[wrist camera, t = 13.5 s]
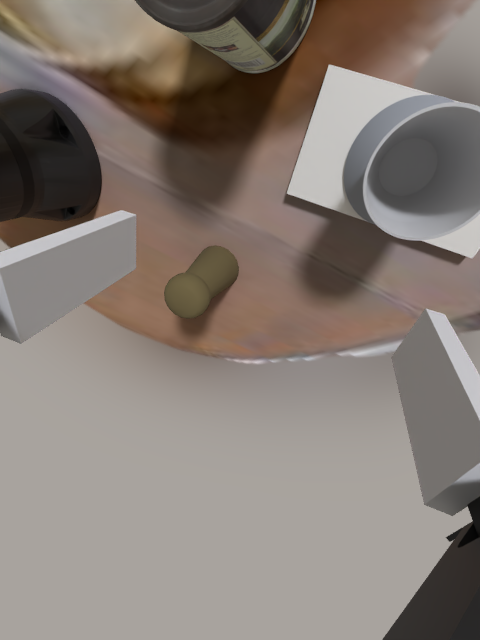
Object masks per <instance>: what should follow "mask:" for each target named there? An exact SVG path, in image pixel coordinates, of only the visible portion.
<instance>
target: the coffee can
mask: <svg viewBox="0 0 480 640" xmlns="http://www.w3.org/2000/svg"><path fill="white" fill-rule="evenodd" d="M135 1H136V2H137V3H138V5H139V6H140V7H141V8H142V9H143V10H144V11H145V12H146V13H147V14H148V15H150V16H151V17H152V18H153V19H155V20H156V21H158V22H159V23H161V24H163V25H165V26H167V27H169V28H172V29H174V30H177V31H179V32H180V33H182V34H184V35H185V36H187V37H188V38H190V39H191V40H193V41H195V42H196V43H198V44H199V45H201V46H202V47H204V48H205V49H207V50H209V51H210V52H212V53H214V54H215V55H217V56H218V57H220V58H222V59H223V60H225V61H226V62H227V63H229V64H230V65H231V66H232V67H234V68H236V69H237V70H239V71H243V72H246V73H262V72H266V71H269V70H271V69H273V68H275V67H277V66H279V65H280V64H281V63H283V62H284V61H285V60H286V59H287V58H288V57H289V56H290V55H291V54H292V53H293V52H294V51H295V49H296V48H297V47H298V45H299V44H300V42H301V40H302V39H303V37H304V35H305V33H306V31H307V29H308V26H309V24H310V21H311V19H312V16H313V12H314V8H315V3H316V0H135Z"/></svg>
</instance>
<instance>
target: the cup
mask: <svg viewBox="0 0 480 640" xmlns="http://www.w3.org/2000/svg"><path fill="white" fill-rule="evenodd" d="M363 197H364V203H365V206H366V209H367V212H368V214H369V215H370V217H371V219H372V220H373V221H374V223H375V224H376V225H377V226H378V227H379V228H380V229H382V230H383V231H385V232H386V233H388V234H390V235H392V236H394V237H397V238H400V239H405V240H414V241H420V240H429V239H435V238H439V237H442V236H445V235H447V234H450V233H452V232H454V231H456V230H458V229H460V228H462V227H463V226H465V225H467V224H468V223H469V222H471V221H472V220H473V219H475V218H476V217H477V216H478V215H479V214H480V107H479V106H476V105H473V104H468V103H461V102H449V103H442V104H437V105H433V106H430V107H427V108H424V109H422V110H420V111H418V112H416V113H414V114H412V115H410V116H408V117H407V118H405V119H404V120H403V121H401V122H400V123H399V124H397V125H396V126H395V127H394V128H393V129H392V130H391V131H390V132H389V133H388V134H387V135H386V136H385V137H384V138H383V139H382V141H381V142H380V143H379V144H378V146H377V147H376V149H375V150H374V152H373V154H372V156H371V158H370V160H369V163H368V165H367V168H366V172H365V176H364V182H363Z"/></svg>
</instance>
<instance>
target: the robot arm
mask: <svg viewBox="0 0 480 640" xmlns="http://www.w3.org/2000/svg"><path fill="white" fill-rule="evenodd" d="M100 188H101V172H100V165H99V160H98V156H97V153H96V150H95V147H94V145H93V142H92V140H91V138H90V136H89V134H88V132H87V130H86V129H85V127H84V125H83V124H82V123H81V121H80V120H79V118H78V117H77V116H76V115H75V114H74V112H73V111H72V110H71V109H70V108H69V107H68V106H67V105H65V104H64V103H63V102H62V101H60V100H59V99H57V98H56V97H54V96H52V95H50V94H47V93H44V92H40V91H34V90H27V89H15V90H10V91H7V92H4V93H1V94H0V222H2V221H6V220H10V219H15V218H19V217H29V218H38V219H47V220H55V221H67V220H71V219H75V218H79V217H82V216H84V215H86V214H88V213H89V212H90V211H91V210H92V209H93V207H94V206H95V204H96V202H97V200H98V197H99V194H100ZM135 269H136V215H135V214H132V213H129V212H126V211H123V210H120V211H117V212H114V213H112V214H109V215H106V216H103V217H100V218H97V219H94V220H91V221H88V222H85V223H82V224H80V225H77V226H74V227H71V228H68V229H65V230H62V231H59V232H56V233H53V234H51V235H48V236H45V237H42V238H39V239H36V240H33V241H30V242H27V243H24V244H21V245H18V246H15V247H13V248H9V249H6V250H4V251H1V252H0V333H1V336H3V337H6V338H8V339H11V340H13V341H16V342H18V343H20V344H21V343H23V342H24V341H26V340H28V339H29V338H31V337H32V336H34V335H35V334H37V333H38V332H40V331H41V330H43V329H44V328H46V327H47V326H49V325H50V324H52V323H53V322H55V321H57V320H58V319H60V318H61V317H63V316H64V315H66V314H67V313H69V312H70V311H72V310H73V309H75V308H76V307H78V306H79V305H81V304H83V303H84V302H86V301H87V300H89V299H90V298H92V297H93V296H95V295H96V294H98V293H99V292H101V291H102V290H104V289H106V288H107V287H109V286H110V285H112V284H113V283H115V282H116V281H118V280H119V279H121V278H122V277H124V276H125V275H127V274H128V273H130V272H132V271H133V270H135ZM392 362H393V367H394V371H395V375H396V380H397V384H398V389H399V393H400V398H401V402H402V406H403V411H404V416H405V420H406V424H407V429H408V433H409V438H410V442H411V447H412V451H413V456H414V460H415V465H416V469H417V474H418V478H419V483H420V487H421V492H422V496H423V500H424V505H426V506H429V507H431V508H434V509H436V510H439V511H442V512H444V513H446V514H449V515H451V516H453V515H455V514H456V513H458V512H459V511H461V510H462V509H464V508H465V507H467V506H468V508H469V511H470V514H471V517H472V520H473V522H471V523H469V524H468V525H466V526H464V527H463V528H461V529H459V530H458V531H456V532H454V533H453V534H451V535H450V536H448V537H446V538H447V539H448V540H449V541H452V540H454V539H455V540H454V541H453V543H452V544H451V545H450V547H449V548H448V549H447V551H446V552H445V554H444V555H443V556H442V558H441V559H440V561H439V562H438V563H437V565H436V566H435V567H434V569H433V570H432V572H431V573H430V574H429V576H428V577H427V578H426V580H425V581H424V583H423V584H422V585H421V587H420V588H419V590H418V591H417V592H416V594H415V595H414V597H413V598H412V599H411V601H410V602H409V604H408V605H407V606H406V608H405V609H404V611H403V612H402V613H401V615H400V616H399V618H398V619H397V620H396V622H395V623H394V624H393V626H392V627H391V628H390V630H389V631H388V633H387V634H386V635H385V637H384V638H383V640H480V375H479V373H478V372H477V370H476V368H475V367H474V365H473V363H472V361H471V360H470V358H469V356H468V354H467V353H466V351H465V349H464V347H463V345H462V344H461V342H460V340H459V338H458V337H457V335H456V333H455V331H454V330H453V328H452V326H451V325H450V323H449V321H448V319H447V318H446V316H445V314H442V313H438V312H435V311H432V310H429V309H425V310H424V311H423V313H422V314H421V316H420V317H419V319H418V320H417V321H416V323H415V324H414V326H413V327H412V329H411V330H410V331H409V333H408V334H407V336H406V337H405V338H404V340H403V341H402V343H401V344H400V346H399V347H398V348H397V350H396V351H395V353H394V354H393V356H392Z"/></svg>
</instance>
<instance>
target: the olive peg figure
mask: <svg viewBox="0 0 480 640" xmlns="http://www.w3.org/2000/svg"><path fill="white" fill-rule="evenodd" d="M238 271H239V267H238V263H237V260H236V259H235V257H234V255H233V254H232V253H231V252H230V251H229V250H227V249H225V248H223V247H221V246H210V247H207V248H206V249H204V250H203V251H202V252H201V254H200V255H199V256H198V257H197V259H196V260H195V261H194V262H193V264H192V265H191V266H190V267H189V269H188V270H187V271H186V272H185V273H181V274H177V275H176V276H174V277H173V278H171V279H170V280H169V282H168V283H167V285H166V287H165V291H164V296H165V302H166V304H167V306H168V307H169V309H170V310H171V311H172V312H173V313H174V314H175V315H177V316H179V317H182V318H188V319H189V318H195V317H198V316H200V315H201V314H203V313H204V311H205V310H206V309H207V308H208V306H209V303H210V300H211V299H212V298H213V297H215V296H216V295H217V294H219V293H220V292H222V291H223V290H224V289H226V288H227V287H229V286H230V285H231V284H233V283H234V281H235V280H236V279H237V276H238Z"/></svg>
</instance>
